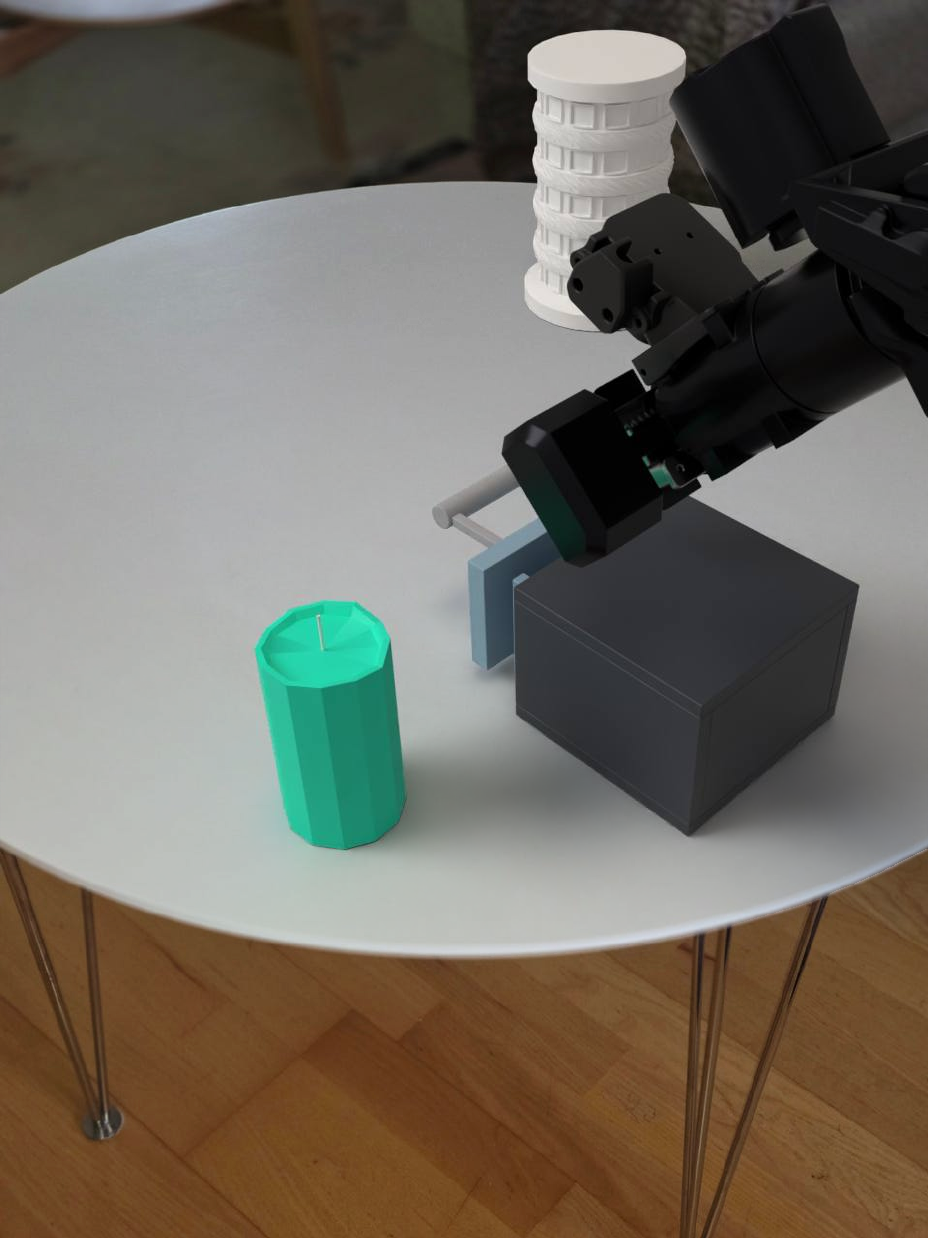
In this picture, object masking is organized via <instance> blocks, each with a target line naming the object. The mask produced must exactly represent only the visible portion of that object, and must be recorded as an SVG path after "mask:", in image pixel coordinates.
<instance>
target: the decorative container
mask: <svg viewBox="0 0 928 1238" xmlns="http://www.w3.org/2000/svg"><path fill="white" fill-rule="evenodd" d="M686 65H687V56H686V51H685V50H684V48H683V47H681V45H679V44H678V43H677V42H675V41H673V40H670V39H668V38H667V37H663V36H659V35H656V34H652V33H648V32H647V33H646V32H642V31H634V30H619V29H602V30H601V29H597V30H596V29H595V30H585V31H578V32H576V31H575V32H570V33H566V34H562V35H557V36H554V37H552V38H551V37H550V38H549V39H546V40H543V41H541V42H540V43H538V44H536V45H535V46H533V47H532V48H531V50H530V51H529V52H528V53H527V81H528V82H529V83H530V85H531V86H532V87H533V88H534V89H536V98H537V99H536V101H535V103H534V106H533V110H532V115H531V116H532V117H531V118H532V123H533V125H534V131H535V132H536V137H537V138H536V139H537V140H536V141H537V142H536V143H537V144H536V145H535V146H534V152H533V154H532V166H533V169H534V174H535V176H536V179H537V182H536V184H537V187H536V188H535V189H534V194H533V198H532V207H533V212H534V216H535V218H536V219H537V227H536V229H535V231H534V236H533V239H532V248H533V251H534V256H535V258H536V259H537V261H536V262H535V263H534V264H533V265H531V266H530V267H529V268H528V270H527V272H526V273H525V275H524V302H525V304H526V305H527V307H528V309H529V311H531V312H532V313H533V314H535V315H536V316H537V317H538V318H539V319H541V320H544V321H545V322H548V323H550V324H552V325H554V326H559V327H563V328H566V329H570V330H577V331H585V332H601V331H600V330H599V329H598V328H597V327H596V326H595V325H594V324H593V323H592V322H591V321H590V320H589V319H588V318H587V317H586V316H585V315H584V314H583V313H582V312H581V311H580V310H579V309H578V308H577V307H576V306H575V305H574V303H573V302H572V301H571V300H570V299H569V295H568V291H567V282H568V280H569V277H570V275H571V273H572V271H573V268H572V266H571V264H570V255H571V253H572V252H574V251H576V250H578V249H580V248H582V247H584V246H585V245H586V243H587V241H588V239H589V237H590V236H591V235H593V234H595V233H597V232H599V231H601V230H602V228H603V225H604V223H605V221H606V220H607V219H608V218H609V217H611V216H613V215H615V214H617V213H619V212H621V211H623V210H625V209H627V208H630V207H632V206H634V205H636V204H638V203H640V202H642V201H645V200H647V199H649V198H651V197H653V196H655V195H658V194H661V193H671V191H670V187H669V178H670V176H671V174H672V171H673V168H674V164H675V161H674V160H675V155H674V149H673V144H672V143H671V139H672V134H673V131H674V129H675V127H676V123H677V120H676V118H675V116H674V114H673V112H672V110H671V108H670V106H669V99H670V97H671V96H672V94H673V92H674V91H675V89H677V87H678V86H679V85H680V84H681V83H682V82H683V81H684V80H685V77H686ZM624 330H626V329H625V328H624V329H620V330H619V331H624Z"/></svg>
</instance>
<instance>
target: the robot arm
mask: <svg viewBox="0 0 928 1238" xmlns="http://www.w3.org/2000/svg"><path fill="white" fill-rule="evenodd" d="M669 106H670V108H671V110H672V112H673V114H674V116H675V118H676V123H677V124H678V126H679V128H680V130H681V132H682V134H683V136H684V138H685V140H686V142H687V144H688V146H689V148H690V151H691V152H692V154H693V156H694V158H695V160H696V162H697V163H698V166H699V168H700V170H701V172H702V174H703V176H704V178H705V180H706V181H707V184H708V185H709V187H710V189H711V191H712V194H713V196H714V198H715V199H716V201H717V204H718V206H719V208H720V209H721V211H722V213H723V215H724V218H725V219H726V222H727V223H728V225H729V227H730V230H731V231H732V233H733V235H734V237H735V239H736V240H737V242H738V245H739V246H740V248H741V250H744V249H747V248H749V247H751V246H753V245H755V244H756V243H758V242H759V241H762V240H763V239H765V238H766V237H767V236H768V237H767V240H768V242H769V244H770V247H771V248H772V249H773V252H781V251H783V250H787V249H789V248H791V247H793V246H795V245H798V244H800V243H802V242H804V241H807V240H808V239H809V242H810V243H811V244H812V246H813V247H814V248H816V250H814V251H813V252H811V253H810V254H808V255H807V256H805V257H804V258H801V260H799V261H798V262H796V263H795V264H793V265H791V266H790V267H789V268H787V269H786V270H784V268H780V269H777V270H776V271H774V272H773V273H770V274H768V275H767V276H765V277H764V278H761V279H760V280H759V279H758V278H757V277H756V275H754V274H753V272H752V271H751V270H750V269H749V267H748V266H747V265H746V264H745V263H744V262H743V258H742V255H741V253H740V252H739V250H738V249H737V248H736V247H735V246H734V245H733V244H732V243H731V242H730V241H729V240H728V239H727V238H726V237H725V236H724V235H723V234H722V233H721V232H720V231H719V230H717V228H716V227H714V225H712V224H711V222H709V221H708V220H707V218H705V217H704V216H703V215H702V214H701V213H700V212H699V211H698V210H697V209H696V208H695V207H694V206H693V205H692V204H691V203H690V202H689V201H687V200H686V199H685V198H684V197H682V196H679V195H678V194H674V193H671V192H670V193H661V194H658V195H655V196H653V197H651V198H649V199H647V200H645V201H642V202H640V203H638V204H636V205H634V206H632V207H630V208H627V209H625V210H623V211H621V212H619V213H617V214H615V215H613V216H611V217H609V218H608V219H607V220H606V221H605V223H604V225H603V228H602V230H601V231H599V232H597V233H595V234H593V235H591V236H590V237H589V239H588V241H587V243H586V245H585V246H584V247H582V248H580V249H578V250H576V251H574V252H572V253H571V255H570V264H571V266H572V268H573V271H572V273H571V275H570V277H569V280H568V282H567V291H568V295H569V299H570V300H571V301H572V302H573V303H574V305H575V306H576V307H577V308H578V309H579V310H580V311H581V312H582V313H583V314H584V315H585V316H586V317H587V318H588V319H589V320H590V321H591V322H592V323H593V324H594V325H595V326H596V327H597V328H598V329H599V330H600V331H599V332H601V333H602V334H606V335H612V334H614V333H617V332H618V331H621V330H620V329H623V330H626V331H627V332H628V333H629V334H630V335H631V336H632V337H633V338H635V340H637V341H639V342H640V343H643V344H644V345H648V346H650V347H649V348H647V349H645V350H644V351H643V352H641V353H640V354H638V355H637V356H636V357H634V358H633V359H631V360H630V361H631V363H632V365H633V366H634V368H635V369H634V368H631V369H629V370H627V371H624V372H623V373H622V374H619V375H617V376H616V377H615V378H612V379H611V380H609V381H607V382H605V383H604V384H602V385H600V386H598V387H597V388H595V390H594V391H593V392H592V391H590V390H588V389H586V388H583V389H581V390H580V391H578V392H576V393H574V394H572V395H571V396H569V397H566V398H565V399H563V400H562V401H560V402H558V403H556V404H555V405H552V406H551V407H549V408H548V409H545V410H543V411H542V412H540V413H538V414H536V415H534V416H533V417H530V418H529V419H527V420H526V421H524V422H523V423H521V424H520V425H519V426H517V427H516V428H514V429H513V430H511V431H510V432H509V433H507V434H506V435H504V436H503V442H502V448H501V456H502V458H503V460H504V461H505V463H506V465H508V466H509V468H510V470H511V471H512V473H513V475H514V476H515V478H516V480H517V482H518V483H519V485H520V487H519V488H521V490H522V492H523V493H524V495H525V497H526V499H527V500H528V502H529V504H530V505H531V507H532V509H533V510H534V512H535V514H536V516H537V518H539V519H540V521H541V522H542V524H543V526H544V527H545V529H546V531H547V532H548V534H549V536H550V537H551V539H552V541H553V543H554V544H555V546H556V548H557V549H558V551H559V553H560V554H561V556H562V558H563V559H564V561H565V562H566V563H569V564H571V565H574V566H577V567H580V568H583V567H585V566H587V565H589V564H591V563H593V562H595V561H597V560H599V559H602V558H604V557H606V556H607V555H609V554H610V553H612V552H613V551H615V550H617V549H618V548H620V547H621V546H623V545H624V544H626V543H627V542H629V541H630V540H632V539H633V538H635V537H637V536H638V535H640V534H641V533H643V532H644V531H646V530H647V529H649V528H650V527H652V526H654V525H655V524H657V523H658V522H660V521H661V520H662V511H664V510H667V509H669V508H670V507H672V506H673V505H675V504H677V503H678V502H680V501H681V500H683V499H684V498H686V497H687V496H691V495H693V494H694V493H695V492H698V490H701V488H702V484H701V482H700V481H699V479H698V478H699V477H701V476H705V475H707V476H708V478H709V479H710V481H711V482H714V481H716V480H718V479H720V478H723V477H725V476H726V475H728V474H730V473H732V472H733V471H734V470H736V469H737V468H739V467H740V466H742V465H744V464H745V463H746V462H748V461H750V460H751V459H753V458H754V457H756V456H757V455H759V454H760V453H763V452H764V451H766V450H767V449H770V448H772V447H774V449H775V450H778V449H780V448H781V447H784V446H786V445H787V444H790V443H791V442H793V441H795V440H796V439H798V438H799V437H801V436H803V435H805V434H806V433H807V432H809V431H810V430H812V429H813V428H815V427H817V426H818V425H820V424H821V423H823V422H824V421H826V420H827V419H828V418H831V417H833V416H835V415H836V414H838V413H840V412H842V411H844V410H847V409H848V408H850V407H852V406H854V405H856V404H859V403H860V402H862V401H864V400H866V399H868V398H870V397H872V396H874V395H877V393H880V392H882V391H884V390H886V389H888V388H890V387H891V386H894V385H895V384H897V383H899V382H901V381H903V380H905V379H907V382H908V383H909V386H910V388H911V390H912V392H913V393H914V395H915V398H916V400H917V401H918V403H919V405H920V407H921V410H922V411H923V413H924V415H925V417H926V418H927V419H928V128H926V129H923V130H921V131H918V132H915V133H913V134H911V135H908V136H905V137H903V138H900V139H897V140H895V141H893V142H892V139H891V137H890V135H889V133H888V131H887V128H886V127H885V125H884V123H883V121H882V119H881V117H880V115H879V113H878V111H877V109H876V107H875V105H874V103H873V101H872V98H871V97H870V95H869V93H868V91H867V89H866V87H865V85H864V83H863V81H862V79H861V77H860V75H859V73H858V71H857V69H856V67H855V65H854V63H853V61H852V58H851V56H850V53H849V51H848V46H847V44H846V39H845V36H844V33H843V32H842V29H841V27H840V24H839V23H838V21H837V19H836V17H835V14H834V13H833V10H832V8H831V6H830V5H829V4H828V3H824V2H821V3H817V4H814V5H811V6H807V7H804V8H802V9H799V10H795V11H792V12H789V13H786V14H784V15H782V17H781V18H780V19H779V20H778V21H776V23H774V25H772V27H770V28H769V29H768V30H767V31H765V32H763V33H761V34H760V35H757V36H755V37H754V38H751V39H750V40H748V41H746V42H744V43H743V44H741V45H739V46H738V47H736V48H734V49H732V50H731V51H730V52H727V53H726V54H725V55H723V56H722V57H720V58H719V59H717V60H716V61H715V62H713V63H712V64H710V65H708V66H705V67H701V68H698V69H697V70H695V71H693V72H691V73H690V74H689V75H687V76H686V78H684V79H683V81H682V83H681V84H680V85H678V86H677V87H676V88H675V89H674V92H673V94H672V96H671V97H670V99H669ZM624 328H625V329H624ZM635 370H636V371H635ZM636 372H637V373H638V374H637V373H636ZM638 375H639V376H638ZM639 377H640V378H641V379H640V378H639ZM641 380H642V381H641ZM644 385H645V386H646V387H650V388H649V390H646V388H645V386H644Z"/></svg>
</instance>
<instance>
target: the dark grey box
mask: <svg viewBox="0 0 928 1238" xmlns="http://www.w3.org/2000/svg"><path fill="white" fill-rule="evenodd" d="M859 591H860V584H859V583H856V582H855V581H853V580H851V579H849V578H848V577H846V576H844V575H842V574H840V573H838V572H836V571H834V570H832V569H830V568H828V567H827V566H825V565H823V564H821V563H819V562H817V561H815V560H813V559H811V558H810V557H807V556H805V555H803V554H802V553H800V552H798V551H796V550H793V549H792V548H790V547H788V546H786V545H784V544H782V543H781V542H779V541H777V540H776V539H773V538H771V537H769V536H767V535H765V534H763V533H762V532H760V531H757V530H756V529H754V528H752V527H750V526H748V525H746V524H745V523H743V522H740V521H738V520H737V519H735V518H733V517H731V516H729V515H727V514H725V513H723V512H721V511H719V510H717V509H716V508H714V507H712V506H710V505H708V504H706V503H705V502H702V501H701V500H698V499H697V498H695V497H693V496H691V495H689V496H687V497H686V498H684V499H683V500H681V501H680V502H678V503H677V504H675V505H673V506H672V507H670V508H669V509H667V510H664V511H662V520H661V521H660V522H658V523H657V524H655V525H654V526H652V527H650V528H649V529H647V530H646V531H644V532H643V533H641V534H640V535H638V536H637V537H635V538H633V539H632V540H630V541H629V542H627V543H626V544H624V545H623V546H621V547H620V548H618V549H617V550H615V551H613V552H612V553H610V554H609V555H607V556H606V557H604V558H602V559H599V560H597V561H595V562H593V563H591V564H589V565H587V566H585V567H583V568H580V567H577V566H574V565H571V564H569V563H566V562H565V561H564V559H563V558H562V557H560V558H559V559H557V560H556V561H554V562H553V563H551V564H549V565H548V566H546V567H545V568H543V569H542V570H540V571H538V572H537V573H535V574H534V575H532V576H531V577H529V578H527V579H526V580H524V581H523V582H521V583H520V584H518V585H516V586H515V587H514V633H515V672H514V676H515V677H514V679H515V680H514V681H515V684H514V685H515V687H514V688H515V715H516V716H517V717H519V718H520V719H522V720H523V721H524V722H526V723H527V724H529V725H530V726H531V727H533V728H534V729H536V730H537V731H538V732H540V733H541V734H543V736H545V737H547V738H548V739H550V740H551V741H553V742H554V743H556V745H558V746H560V747H561V748H562V749H564V750H565V751H567V752H568V753H569V754H571V755H572V756H574V757H575V758H576V759H578V760H579V761H580V762H582V763H584V764H585V765H586V766H587V767H589V768H591V769H592V770H594V771H595V772H596V773H598V774H599V775H601V776H602V777H603V778H605V779H606V780H608V781H609V782H611V783H612V784H613V785H615V786H616V787H617V788H619V789H620V790H622V791H623V792H625V793H626V794H627V795H628V796H630V797H632V798H633V799H635V800H636V801H637V802H638V803H640V804H641V805H643V806H644V807H646V808H647V809H648V810H650V811H651V812H653V813H654V814H656V815H657V816H658V817H660V818H661V819H663V820H664V821H666V823H668V824H670V825H671V826H673V827H674V828H676V829H677V830H678V831H680V832H681V833H683V834H684V835H685V836H686V837H690V836H691V835H692V834H694V833H695V832H696V831H697V830H698V829H699V828H701V827H702V826H703V825H704V824H705V823H706V822H708V821H709V820H711V818H712V817H714V816H715V815H717V813H718V812H720V811H721V810H722V809H723V808H724V807H726V806H727V805H728V804H729V803H730V802H732V801H733V800H734V799H735V798H736V797H738V796H739V795H740V794H741V793H742V792H744V791H745V790H746V789H747V788H748V787H749V786H750V785H752V784H753V783H754V782H755V781H757V780H758V779H759V778H760V777H762V776H763V775H764V774H765V773H766V772H767V771H769V770H770V769H771V768H772V767H773V766H775V765H776V764H777V763H778V762H779V761H780V760H782V759H783V758H784V757H785V756H786V755H788V754H789V753H790V752H791V751H792V750H794V749H795V748H796V747H797V746H798V745H799V744H801V743H802V742H803V741H804V740H806V739H807V738H808V737H810V735H812V734H813V733H814V732H815V731H816V730H818V729H819V728H820V727H822V725H824V724H825V723H826V722H828V721H829V720H830V719H831V718H832V717H833V716H834V715H836V710H837V703H838V699H839V694H840V688H841V684H842V680H843V675H844V674H843V673H844V669H845V663H846V658H847V653H848V648H849V644H850V643H849V642H850V638H851V633H852V628H853V622H854V618H855V612H856V608H857V602H858V597H859V593H860V592H859Z"/></svg>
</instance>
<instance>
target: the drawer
mask: <svg viewBox="0 0 928 1238" xmlns="http://www.w3.org/2000/svg"><path fill="white" fill-rule="evenodd" d="M518 488H521V487H520V485H519V483H518V482H517V480H516V478H515V476H514V475H513V473H512V471H511V470H510V468H509V466H508V465H507V464H505V465H504V466H502V467H500V468H498V469H496V470H495V471H493V472H492V473H490V474H488V475H486V476H484V477H483V478H481V479H479V480H477V481H476V482H474V483H472V484H470V485H469V486H467V487H465V488H463V489H461V490H460V491H458V492H456V493H454V494H452V495H450V496H449V497H447V498H445V499H444V500H442V501H439V503H437V504H435V505H434V506H433V507H432V509H431V514H432V515H431V516H432V517H433V520H434V522H435V523H436V525H437V526H439V528H441V529H444V530H448V529H450V528H451V527H454V528H455V529H457V530H458V531H460V532H462V533H463V534H465V535H467V536H468V537H470V538H471V539H473V540H474V541H476V542H477V543H479V544H480V545H483V547H486V549H484V550H483V551H481V552H480V553H478V554H476V555H474V556H473V557H471V558H470V559H468V560H467V580H468V581H467V582H468V602H469V621H470V643H471V644H470V645H471V660H472V662H474V663H475V664H477V665H478V666H479V667H481V668H483V670H485V671H489V670H491V669H492V668H493V667H496V666H497V665H498V664H500V663H501V662H502V661H504V660H506V659H507V658H508V657H510V656H512V655H513V672H514V673H515V633H514V587H515V586H516V585H518V584H520V583H521V582H523V581H524V580H526V579H527V578H529V577H531V576H532V575H534V574H535V573H537V572H538V571H540V570H542V569H543V568H545V567H546V566H548V565H549V564H551V563H553V562H554V561H556V560H557V559H559V558H560V557H562V556H561V554H560V553H559V551H558V549H557V548H556V546H555V544H554V543H553V541H552V539H551V537H550V536H549V534H548V532H547V531H546V529H545V527H544V526H543V524H542V522H541V521H540V519H539V517H537V518H535V519H534V520H532V521H530V522H529V523H527V524H526V525H524V526H523V527H521V528H519V529H518V530H516V531H514V532H513V533H511V534H509V535H507V536H506V537H504V538H502V537H500V536H498V535H497V534H495V533H494V532H492V531H490V530H489V529H488V528H485V527H484V526H483V525H480V524H479V523H477V522H476V521H474V520H473V519H471V518H469V517H470V516H472V515H474V514H475V513H477V512H479V511H481V510H482V509H484V508H485V507H487V506H489V505H491V504H492V503H495V502H496V501H497V500H499V499H501V498H503V497H504V496H506V495H508V494H509V493H511V492H513V491H515V490H516V489H518Z"/></svg>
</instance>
